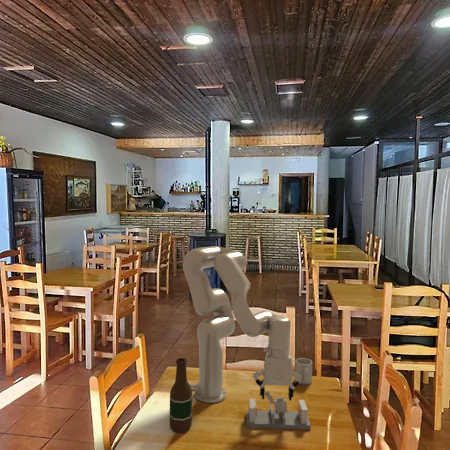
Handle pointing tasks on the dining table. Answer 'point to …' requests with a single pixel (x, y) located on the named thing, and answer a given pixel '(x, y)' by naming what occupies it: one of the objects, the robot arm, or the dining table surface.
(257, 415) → the grey holder rack
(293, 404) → the dining table surface
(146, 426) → the dining table surface
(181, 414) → the beer bottle
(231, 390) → the dining table surface
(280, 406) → the lighter
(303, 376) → the cup
